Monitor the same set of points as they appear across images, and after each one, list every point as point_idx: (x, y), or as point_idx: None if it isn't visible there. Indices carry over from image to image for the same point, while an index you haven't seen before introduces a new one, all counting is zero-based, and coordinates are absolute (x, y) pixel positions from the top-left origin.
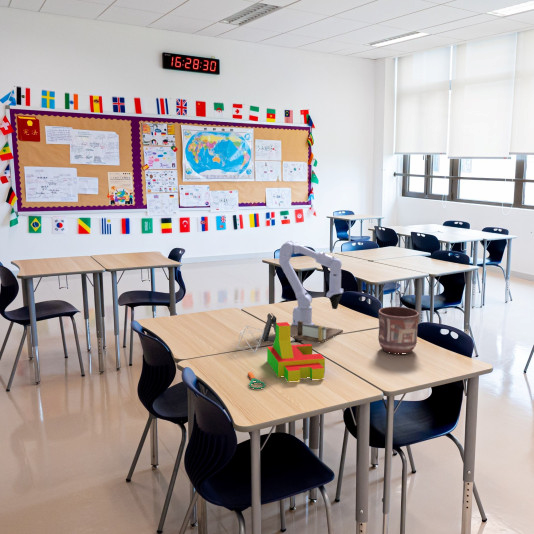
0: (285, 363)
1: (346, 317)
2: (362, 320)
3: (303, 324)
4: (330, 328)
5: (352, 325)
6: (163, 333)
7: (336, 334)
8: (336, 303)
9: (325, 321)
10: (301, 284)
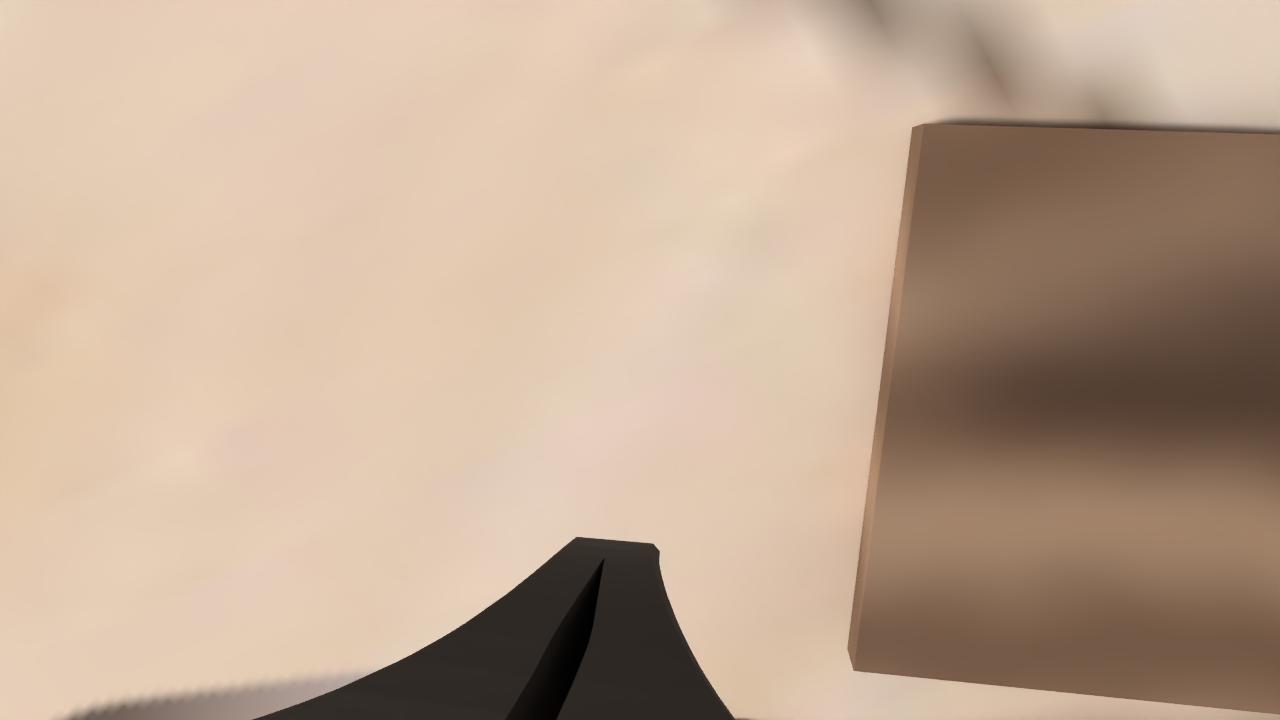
0: None
1: (54, 459)
2: (19, 147)
3: None
4: (938, 382)
5: (406, 163)
6: None
7: (1208, 134)
8: (683, 641)
9: None
10: None
